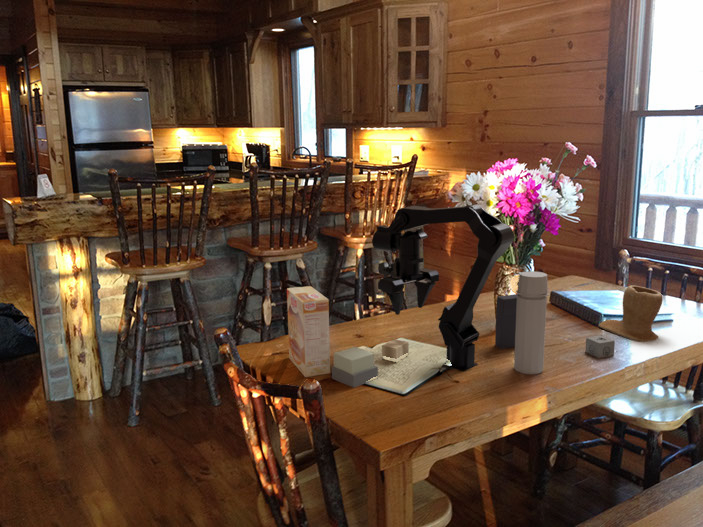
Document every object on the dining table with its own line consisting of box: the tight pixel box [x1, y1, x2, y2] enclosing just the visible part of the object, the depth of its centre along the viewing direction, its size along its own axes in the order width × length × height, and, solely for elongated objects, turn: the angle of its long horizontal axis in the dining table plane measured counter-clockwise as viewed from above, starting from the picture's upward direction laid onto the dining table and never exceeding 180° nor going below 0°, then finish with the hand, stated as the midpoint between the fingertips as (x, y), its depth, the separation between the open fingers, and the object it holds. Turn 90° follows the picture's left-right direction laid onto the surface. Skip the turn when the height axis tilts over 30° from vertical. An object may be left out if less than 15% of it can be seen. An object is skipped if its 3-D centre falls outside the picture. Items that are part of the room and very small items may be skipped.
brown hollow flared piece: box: [598, 285, 664, 343], centre depth 185 cm, size 15×12×15 cm
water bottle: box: [513, 270, 550, 375], centre depth 159 cm, size 9×8×25 cm
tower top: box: [333, 346, 375, 374], centre depth 157 cm, size 7×7×4 cm
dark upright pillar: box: [494, 293, 518, 350], centre depth 177 cm, size 11×4×15 cm, turn 110°
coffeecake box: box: [286, 285, 331, 378], centre depth 165 cm, size 15×7×20 cm, turn 21°
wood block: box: [381, 338, 409, 359], centre depth 170 cm, size 4×4×6 cm
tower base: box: [331, 365, 379, 388], centre depth 158 cm, size 8×8×4 cm
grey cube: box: [584, 335, 616, 359], centre depth 170 cm, size 5×5×5 cm
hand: (408, 311), depth 172 cm, fingers open, 9 cm apart
